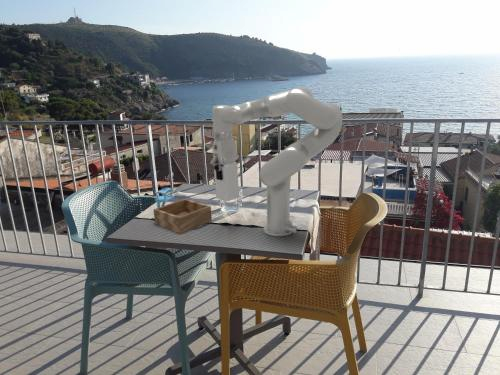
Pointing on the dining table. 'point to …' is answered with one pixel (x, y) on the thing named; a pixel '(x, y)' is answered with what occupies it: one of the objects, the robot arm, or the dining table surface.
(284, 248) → the dining table surface
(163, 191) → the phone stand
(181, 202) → the wooden crate
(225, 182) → the milk carton
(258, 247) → the dining table surface
